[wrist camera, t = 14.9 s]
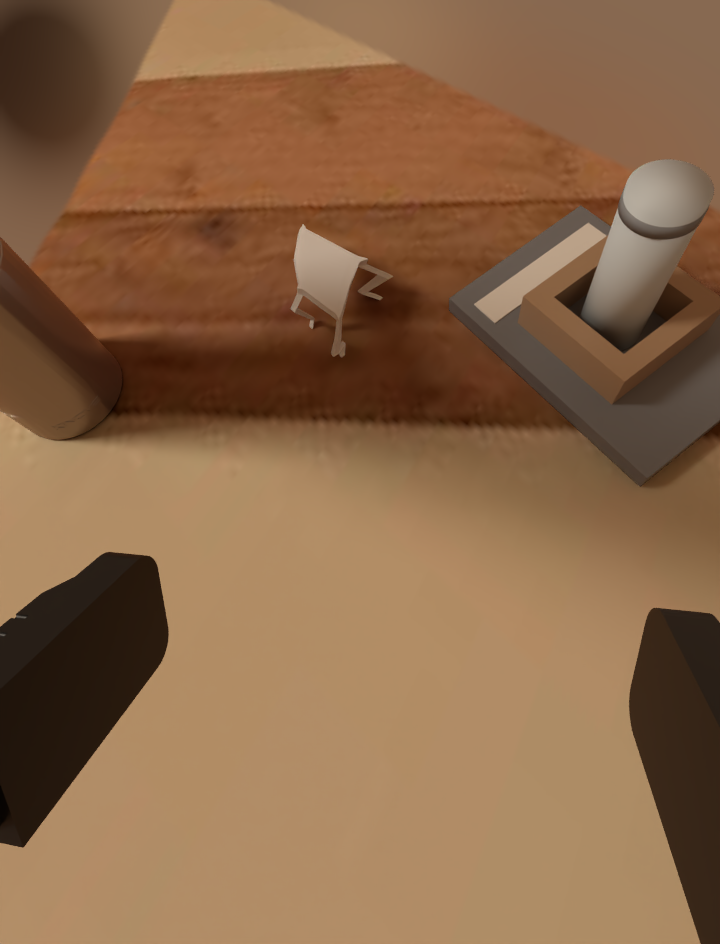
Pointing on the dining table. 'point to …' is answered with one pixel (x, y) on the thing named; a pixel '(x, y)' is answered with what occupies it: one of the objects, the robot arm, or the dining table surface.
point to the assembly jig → (602, 347)
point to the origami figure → (329, 279)
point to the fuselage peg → (645, 247)
